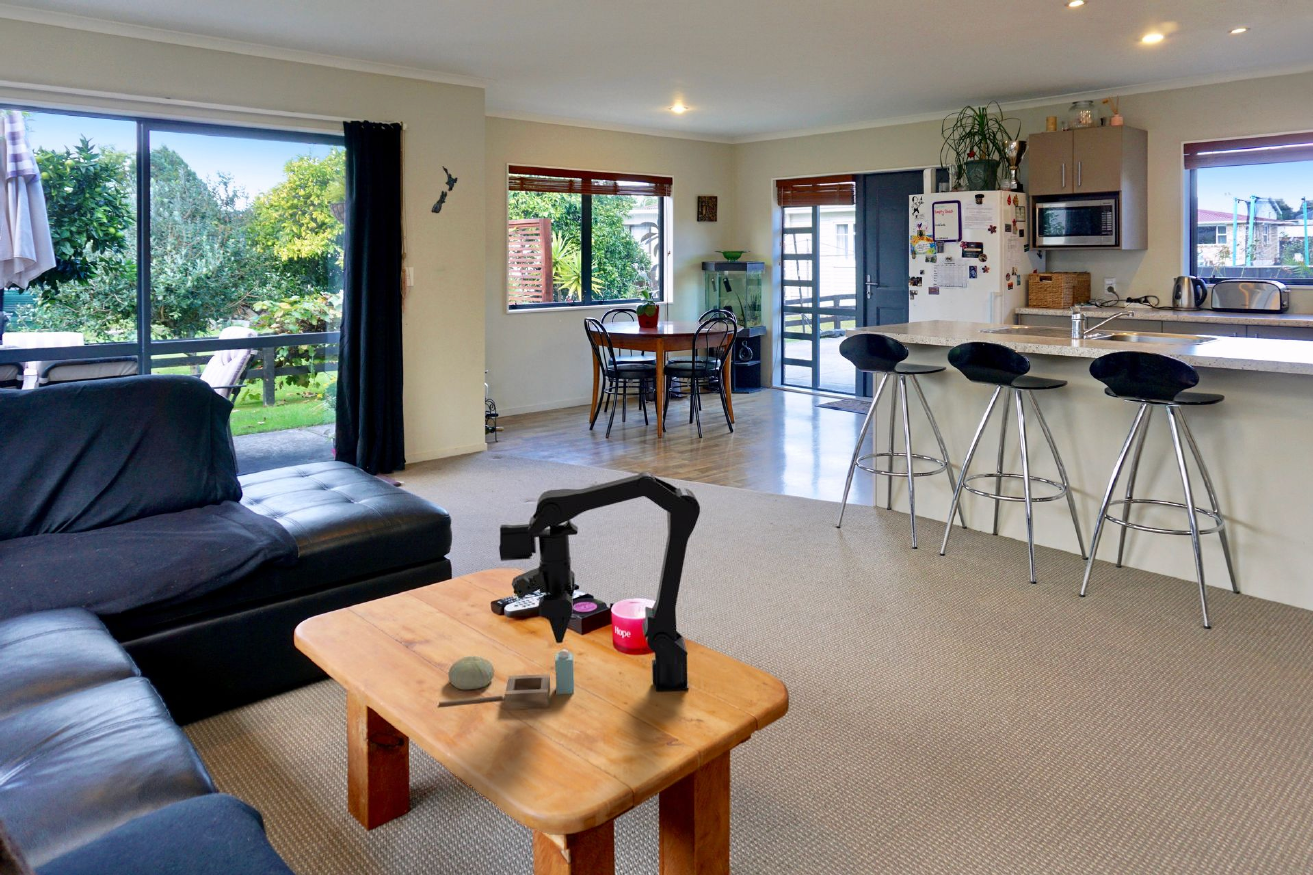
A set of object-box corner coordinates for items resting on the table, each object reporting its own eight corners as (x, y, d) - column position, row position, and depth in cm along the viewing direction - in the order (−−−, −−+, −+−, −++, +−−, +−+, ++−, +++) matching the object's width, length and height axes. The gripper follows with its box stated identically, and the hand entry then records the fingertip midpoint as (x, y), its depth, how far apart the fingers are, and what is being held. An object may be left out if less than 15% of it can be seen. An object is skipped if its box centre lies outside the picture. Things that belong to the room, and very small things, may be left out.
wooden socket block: (550, 689, 185) (549, 674, 185) (548, 707, 178) (547, 692, 177) (509, 690, 185) (508, 675, 184) (505, 709, 177) (504, 693, 177)
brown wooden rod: (502, 697, 182) (502, 695, 182) (502, 699, 182) (502, 696, 181) (439, 704, 180) (439, 701, 180) (439, 705, 179) (439, 703, 179)
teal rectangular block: (574, 685, 187) (572, 645, 185) (573, 693, 184) (572, 652, 182) (557, 686, 187) (555, 646, 185) (556, 694, 183) (554, 653, 182)
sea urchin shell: (450, 688, 183) (446, 649, 187) (450, 702, 189) (446, 665, 193) (497, 681, 185) (492, 643, 189) (495, 696, 191) (491, 659, 196)
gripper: (517, 545, 189) (522, 618, 192) (508, 575, 171) (514, 655, 174) (572, 541, 190) (577, 614, 192) (569, 571, 171) (574, 651, 174)
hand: (560, 633), depth 183 cm, fingers open, 9 cm apart
